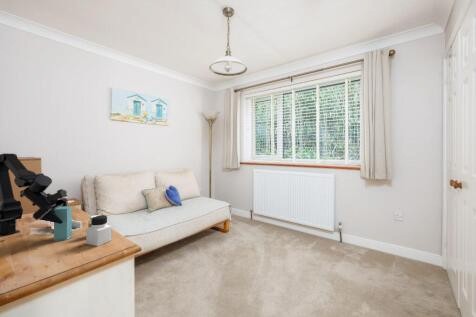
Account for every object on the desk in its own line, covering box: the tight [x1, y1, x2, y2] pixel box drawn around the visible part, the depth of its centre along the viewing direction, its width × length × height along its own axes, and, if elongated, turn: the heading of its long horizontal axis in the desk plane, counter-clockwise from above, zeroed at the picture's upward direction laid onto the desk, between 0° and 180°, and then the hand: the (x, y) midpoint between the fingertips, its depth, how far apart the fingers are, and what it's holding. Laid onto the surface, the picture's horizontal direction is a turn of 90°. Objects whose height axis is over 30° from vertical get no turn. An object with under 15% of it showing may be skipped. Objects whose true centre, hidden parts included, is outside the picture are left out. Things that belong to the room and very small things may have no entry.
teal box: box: [53, 205, 73, 241], centre depth 102 cm, size 5×5×14 cm
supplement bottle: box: [87, 214, 99, 228], centre depth 107 cm, size 5×5×10 cm
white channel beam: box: [72, 219, 83, 232], centre depth 115 cm, size 13×7×4 cm, turn 71°
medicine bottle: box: [85, 214, 113, 247], centre depth 99 cm, size 7×7×12 cm
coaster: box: [53, 234, 73, 242], centre depth 102 cm, size 7×7×1 cm
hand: (66, 220), depth 103 cm, fingers open, 9 cm apart
